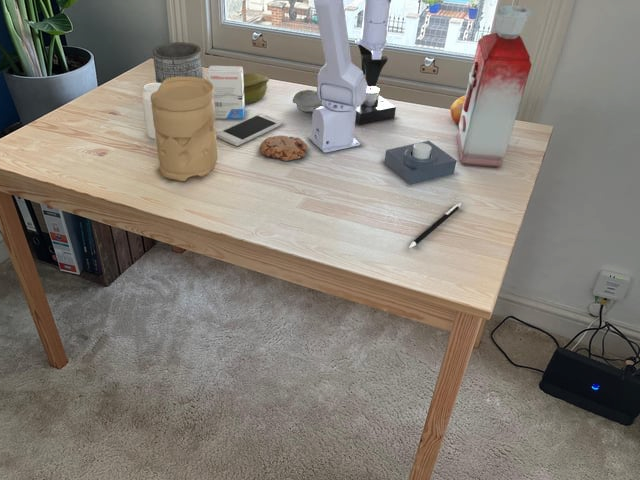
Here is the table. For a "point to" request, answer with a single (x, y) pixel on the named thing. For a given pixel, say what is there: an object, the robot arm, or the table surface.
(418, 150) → the white short cylinder
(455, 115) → the fruit
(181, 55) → the planter
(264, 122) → the smartphone
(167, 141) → the container
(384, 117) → the tap plate
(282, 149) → the cookie
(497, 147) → the bottle
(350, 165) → the table surface
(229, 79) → the ink box
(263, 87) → the olive green bowl
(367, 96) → the rotary dial knob
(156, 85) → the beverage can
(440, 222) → the pen
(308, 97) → the seashell
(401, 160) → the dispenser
